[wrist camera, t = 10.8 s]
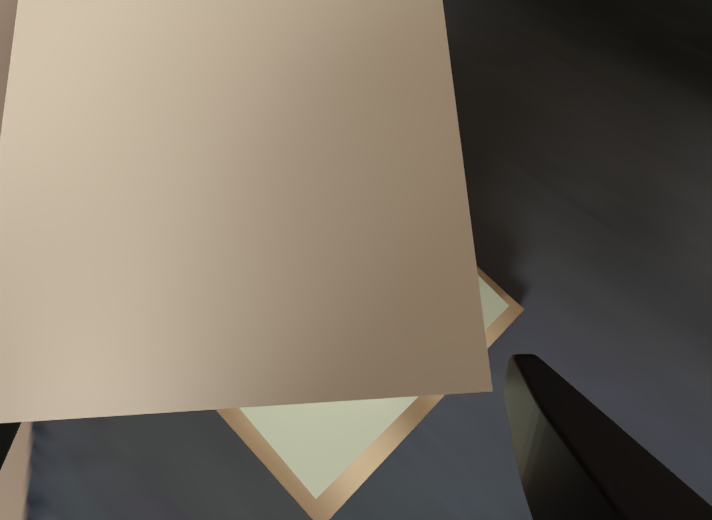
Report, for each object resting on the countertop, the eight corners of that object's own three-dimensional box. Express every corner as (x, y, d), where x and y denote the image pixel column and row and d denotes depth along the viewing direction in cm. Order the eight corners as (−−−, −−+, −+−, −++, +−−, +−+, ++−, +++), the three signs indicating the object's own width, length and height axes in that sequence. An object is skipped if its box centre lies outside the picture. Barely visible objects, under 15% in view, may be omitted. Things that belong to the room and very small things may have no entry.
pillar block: (406, 380, 17) (492, 391, 5) (245, 391, 17) (-38, 425, 5) (393, 226, 19) (436, -45, 7) (243, 236, 19) (19, -14, 7)
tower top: (321, 485, 19) (315, 499, 17) (166, 302, 20) (144, 295, 18) (495, 311, 20) (509, 305, 18) (335, 154, 22) (332, 133, 20)
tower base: (325, 512, 20) (320, 528, 18) (149, 315, 22) (127, 310, 20) (510, 314, 22) (524, 309, 20) (330, 147, 24) (326, 128, 22)
